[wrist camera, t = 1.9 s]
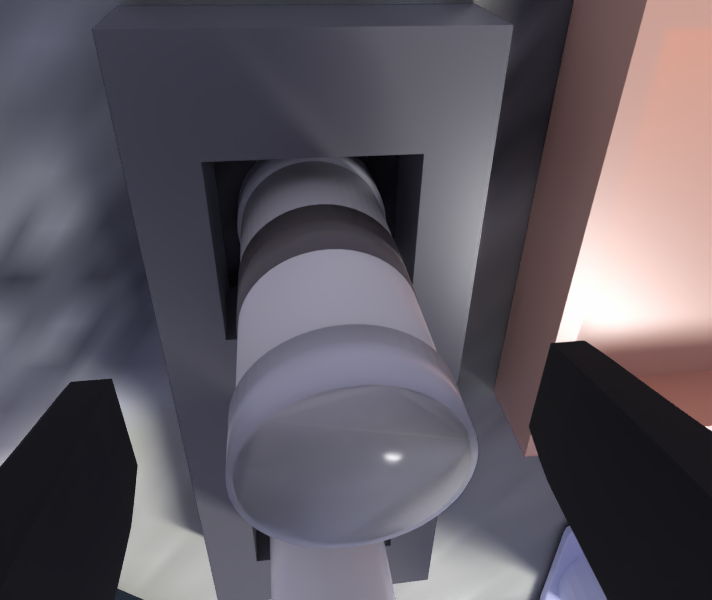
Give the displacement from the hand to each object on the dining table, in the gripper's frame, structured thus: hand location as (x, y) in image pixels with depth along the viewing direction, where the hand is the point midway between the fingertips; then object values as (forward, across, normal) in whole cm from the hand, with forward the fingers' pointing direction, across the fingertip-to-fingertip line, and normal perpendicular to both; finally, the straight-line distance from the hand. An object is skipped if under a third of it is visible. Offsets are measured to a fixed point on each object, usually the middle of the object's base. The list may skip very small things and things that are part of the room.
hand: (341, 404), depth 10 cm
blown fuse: (+8, 0, 0) cm, 8 cm away
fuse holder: (+8, 0, +5) cm, 9 cm away
